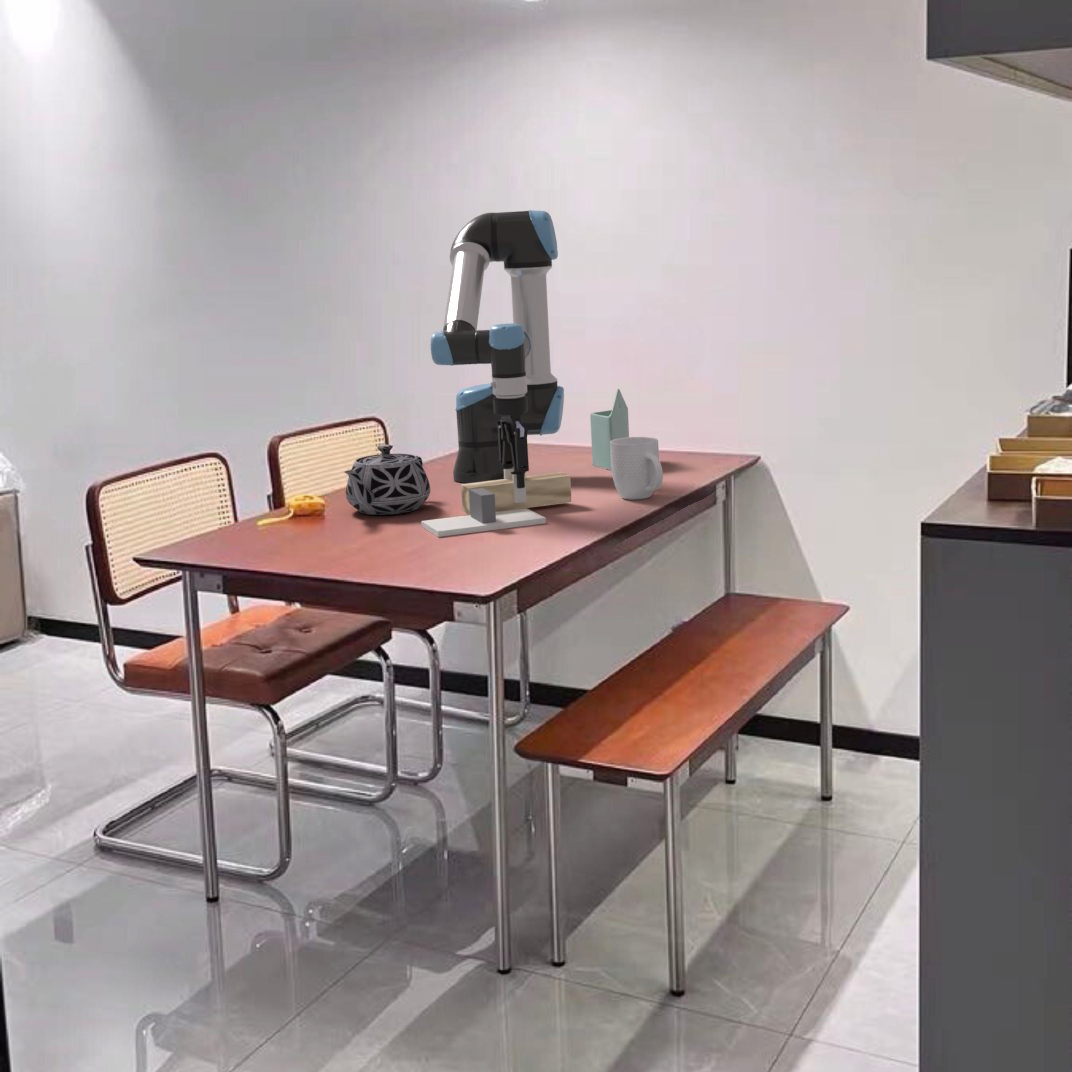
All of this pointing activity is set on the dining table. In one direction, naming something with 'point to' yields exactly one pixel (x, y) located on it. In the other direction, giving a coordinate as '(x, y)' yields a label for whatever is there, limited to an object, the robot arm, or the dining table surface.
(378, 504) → the teapot
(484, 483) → the wooden beam
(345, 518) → the dining table surface
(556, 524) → the dining table surface
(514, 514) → the fulcrum
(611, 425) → the planter
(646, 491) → the mug
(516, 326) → the robot arm
